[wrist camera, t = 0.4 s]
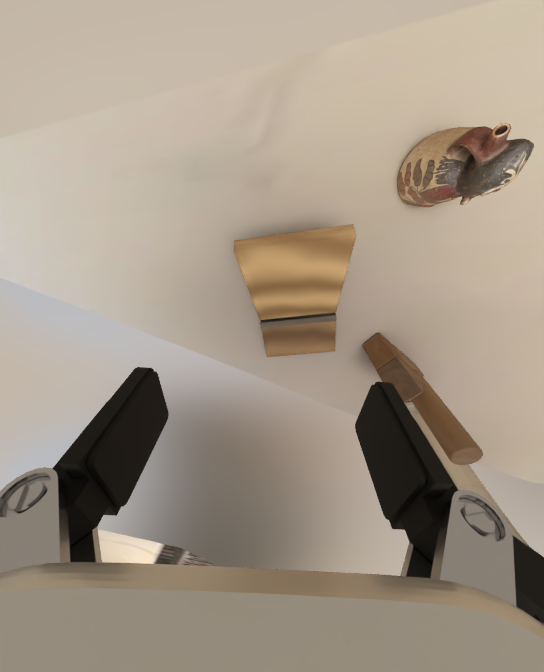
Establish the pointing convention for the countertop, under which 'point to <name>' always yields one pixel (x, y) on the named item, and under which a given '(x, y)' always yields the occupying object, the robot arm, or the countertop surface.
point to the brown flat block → (299, 334)
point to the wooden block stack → (422, 400)
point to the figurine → (461, 165)
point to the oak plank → (296, 270)
